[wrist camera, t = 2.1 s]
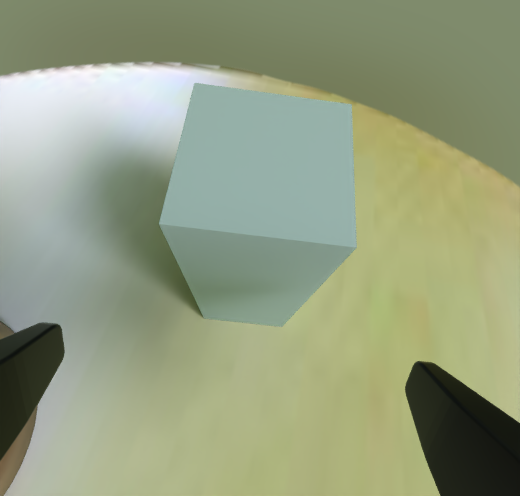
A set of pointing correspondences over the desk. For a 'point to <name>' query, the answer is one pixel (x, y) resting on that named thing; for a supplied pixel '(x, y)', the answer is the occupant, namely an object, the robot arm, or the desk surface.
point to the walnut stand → (7, 468)
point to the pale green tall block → (260, 201)
